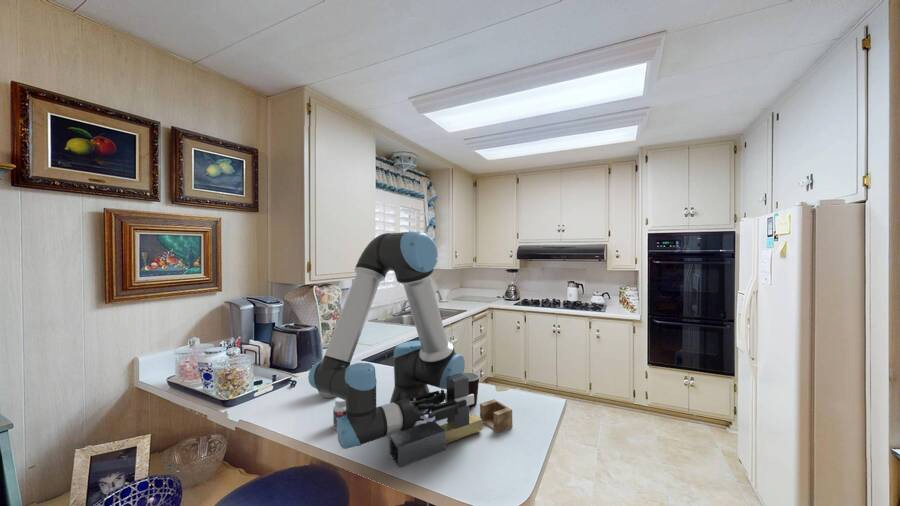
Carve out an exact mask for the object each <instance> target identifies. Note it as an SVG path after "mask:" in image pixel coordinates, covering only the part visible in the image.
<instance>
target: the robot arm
mask: <svg viewBox="0 0 900 506" xmlns="http://www.w3.org/2000/svg"><path fill="white" fill-rule="evenodd" d="M438 253H439V252H438V248H437V245H436V243H435V242H434V240H433V238H432V237H431V236H430V235H428V234H426V233H425V232H421V231H405V232H386V233H382V234H381V233H380V234H379V235H377V236H376V237H374V238H373V239H372V240H371V241H370V242H369V243H368V244H367V245H366V247H365V248H364V250H363V251H362V252H361V254H360V256H359V258H358V260H357V262H356V265H355V267H354V272H355V276H354V279H353V282H352V285H351V286H350V288H349V289H350V290H349V292H348V294H347V297H346V300H345V302H344V303H343V307H342V310H341V312H340V315H339V318H338V320H337V323H336V324H335V328H334V330H333V332H332V334H331V338H330V340H329V343H328V346H327V348H326V351H325V353H324V356H323V358H322V361H317V362H316V363H314V365H313V366H312V367H310V369H309V371H308V372H309V373H308V376H307V377H308V382H309V385H310V386H311V387H312V388H314V389H316V390H317V389H318V390H319V391H321V392H325V393H328V394H330V395H333V396H336V397H335V398H341V399H343V400H346V415H344V416H342V417H340V418H339V419H338V420H337V430H336V437H337V440H338V444H339V446H340V447H341V449H345V450H348V449H350V448H355V447H361V446H362V445H365V444H366V443H370V442H373V441H377V440H379V439H382V438H386V437H389V435H392V434H395V433H398V432H399V431H405V430H408V429H411V428H413V427H414V426H416V424H417V423H418V422H423V421H427V422H428V424H429V425H432V424H433V423H435V422H436V423H437V422H439V421H442V420H445V419H447V418H448V417H451V416H454V415H457V414H459V408H462V407H465V406H468V405H472V404H474V394H470V395H467V396H464V397H460V398H457V399H454V401H452V402H447V391H446V392H445V390H447V380H446V377H447V376H451V375H455V374H459V373H461V374H463V373H464V372H465V368H466V367H465V366H466V364H465V363H466V362H465V358H464V356H463V355H462V354H461V353H456V351H455V348H454V344H453V342H452V341H450V340H448V339H447V335H446V331H445V328H444V324H443V320H442V316H441V313H440V308H439V305H438V301H437V297H436V293H435V290H434V286H433V283H432V278H431V277H432V276H433V274H434V272H435V269H434V268H435V267H436V265H437V262H438V260H437V258H438V257H439V255H438ZM390 271H392V272H394V276H395V279H396V282H397V283H399V284H401V285H403V289H404V292H405V295H406V299H407V302H408V306H409V309H410V312H411V316H412V319H413V322H414V326H415V329H416V333H417V336H418V339H419V340H411V341H406V342H405V341H404V342H402V343H399V344H397V345H396V346H395V347H394V348H393V349H394V351H393V373H394V375H393V376H394V377H393V378H394V388H393V391H392V394H391V397H390V399H389V400H390V401H389V403H386V404H383V405H378V406H377V383H378V382H377V380H378V379H377V376H376V375H377V374H376V368H375V366H374V365H373V364H371V363H369V362H355V363H353V364H351V361H352V359H353V357H354V354H355V351H356V348H357V346H358V344H359V340H360V338H361V335H362V332H363V329H364V327H365V323H366V321H367V319H368V316H369V312H370V310H371V307H372V304H373V302H374V299H375V296H376V294H377V291H378V288H379V286H380V283H382V282H383V281H385V278H386V276H387V274H388V273H389V272H390ZM429 386H432V387H435V388H438V389H441V390H434V391H430V389H429ZM318 390H317V391H318Z"/></svg>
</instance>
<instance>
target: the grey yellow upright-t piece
mask: <svg viewBox="0 0 900 506" xmlns="http://www.w3.org/2000/svg"><path fill="white" fill-rule="evenodd" d="M446 380H447V389H446V392H447V402H452V401H454V399H457V398H460V397H464V396H467V395H469V378H468V377H466V376H465V375H463V374H461V373H459V374H455V375H451V376H447V377H446ZM439 426H440V427H442V428H443V429H444V430H445V440H446V444H448V443H451V442H453V441H456V440H459V439H461V438H465V437H467V436H470V435H473V434H475V433H478V432H480V431H483V422H482V419H481V418H480V416H478V415H477V414H475V413H473V414H471V415H470V408H469V405H468V406H465V407H462V408H459V414H457V415H454V416H451V417H448V418H446V423H445V424H441V425H439Z"/></svg>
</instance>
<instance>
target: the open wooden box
mask: <svg viewBox="0 0 900 506" xmlns="http://www.w3.org/2000/svg"><path fill="white" fill-rule="evenodd" d="M479 417H480V418H481V419H482V424H485V426H487V427H489V428H490V429H491V430H493V431H494V432H496V433H497V434H498V433H500V432H503V431H506V430H509V429H511V428H513V426H514V425H513V409H512V408H510V407H508V406H506V405H505V404H504V403H502V402H500V401H498V400H496V399H495V398H494V399H489V400H487V401H484V402H480V404H479Z"/></svg>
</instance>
